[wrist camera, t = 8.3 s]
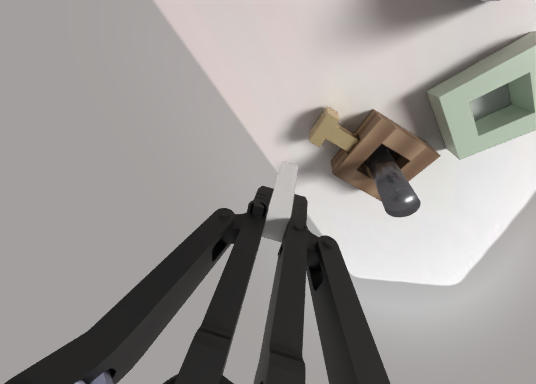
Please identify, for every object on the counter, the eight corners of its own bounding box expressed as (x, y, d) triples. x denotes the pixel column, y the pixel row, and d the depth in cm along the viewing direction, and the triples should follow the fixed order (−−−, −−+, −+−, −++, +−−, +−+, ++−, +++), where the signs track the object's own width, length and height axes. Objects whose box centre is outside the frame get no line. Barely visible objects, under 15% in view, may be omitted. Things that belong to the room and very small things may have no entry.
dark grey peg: (360, 149, 37) (379, 201, 25) (381, 138, 35) (414, 189, 23) (369, 164, 38) (391, 220, 26) (390, 154, 36) (424, 210, 25)
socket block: (331, 160, 39) (332, 174, 35) (373, 109, 32) (381, 118, 28) (376, 186, 41) (382, 202, 37) (426, 142, 34) (440, 155, 30)
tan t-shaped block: (309, 131, 36) (309, 141, 32) (327, 105, 33) (328, 113, 29) (351, 155, 37) (354, 167, 34) (371, 133, 34) (377, 143, 31)
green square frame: (426, 91, 30) (439, 97, 27) (531, 31, 24) (563, 30, 21) (446, 148, 34) (459, 159, 31) (540, 108, 28) (568, 117, 25)
